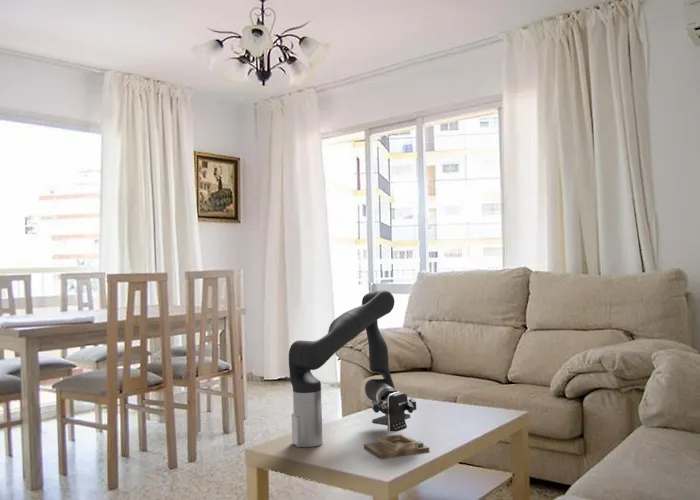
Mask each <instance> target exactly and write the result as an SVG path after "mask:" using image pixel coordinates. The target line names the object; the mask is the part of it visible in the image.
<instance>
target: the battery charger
mask: <svg viewBox="0 0 700 500" xmlns="http://www.w3.org/2000/svg"><path fill="white" fill-rule="evenodd" d="M408 401H409V399H408V395H407V394H406V393H405V392H401V391H397V392H395V393H392V394H389V395H388V396H387V400H386V402H387V408H388V415H387V422H388V425H387V431H388V432H393V433H396V432H397V433H398V432H401V431H403V430H405V429H407V426H408V425H407V423H406V419H405V414H406V413H405V412H406V411H407V410H406V409H408ZM405 410H406V411H405Z"/></svg>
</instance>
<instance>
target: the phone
mask: <svg viewBox="0 0 700 500" xmlns="http://www.w3.org/2000/svg"><path fill="white" fill-rule="evenodd" d="M409 418H411V413H405V420H407V419H409ZM371 422H372V423H373V424H379V425H386V426H388V422H387V415H385V414H384V415H383V416H380V417H377V418H374V419H372V421H371Z"/></svg>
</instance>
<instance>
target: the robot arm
mask: <svg viewBox="0 0 700 500" xmlns="http://www.w3.org/2000/svg"><path fill="white" fill-rule="evenodd" d="M361 300H362V301H361V305H359V306H357V307H354V308H352V309H349V310H348V311H346V312H344V313H342V314H341V315H339V316H338V317H336V318H335V319H333V321H332V322H331V323H330V325H329V327H328V332H327V334H325V335H324V336H323V337H321V338H319V339H317V340H313V341H312V340H296V341H294V342H293V343H292V344H291V346H290V348H289V351H288V367H289V368H288V371H289V380H290V384H291V387H292V409H293V413H291V440H292V441H291V442H292V444H293V445H294V446H295V447H296V448H311V447H312V448H313V447H318V446H321V445H322V444H323V442H324V441H323V440H324V439H323V438H324V437H323V411H322V410H323V409H322V408H323V407H322V406H323V405H322V383H321V381H320V380H319V378H317V377H316V376H314V375H313V373H312V372H311V371H315V370H318V369H320V368H322V366H323V365H325V364H326V363H327V361H329V360H330V359H331V358H332V356H334V354H336V353H337V352H338V351H340V350H341V349H342V348H343V347H344V346H345V345H347V344H348V343H350V342H351V341H353V340H354V339H355V338H356V337H358V335H360V334H361V333H362V332H363V331H365V332H366V336H367V343H368V357H369V358H368V360H369V361H368V362H369V365H368V367H369V371H370V372H371V373H375V374H379V375H381V376H382V377H383V378H372V379H369V380H367V381H366V383H365V386H364V391H365V392H364V393H365V395H366V397H367V398H368V399H369V400H370V401H371V409H372V410H373V412H374V413H379V412H380V413H382V414H384V416H385V415H388V408H387V402H386V400H387V396H388V395H389V394H392V393H395V392H398V391H397V390H396V389H395V384H394V381H393V378H392V375H391V372H390V365H389V363H390V362H389V350H388V346H387V342H386V340H385V339H384V337H383V335H382V334H381V332H380V329H379V326H378V323H379V322H378V320H379V319H381V318H383V317H384V316H386V315H388V314H390V313H391V312H392V311H393V309H394V306H395V297H394V295H393V294H392V292H390V291H389V290H384V289H382V290H381V289H380V290H377V291H373V292H368V293H365V295H364V296H363V297H362V299H361ZM416 410H417V401H416V400H415V398H413V397H410V398H409V399H408V409H406V410H405V412H406V411H407V412H408V414H412V413H413V412H414V411H416Z"/></svg>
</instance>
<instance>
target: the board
mask: <svg viewBox="0 0 700 500" xmlns="http://www.w3.org/2000/svg"><path fill="white" fill-rule="evenodd" d="M363 449H365V450H367V451H368V452H370V453H371V454H373V455H375V456H376V457H378V458H380V459H381V460H384V459H390V458H396V457H402V456H409V455H415V454H421V453H427V452H430V447H429V446H428V445H425V444H424V442H422V441H419V440H418V441H417V440H415V439H413V438H411V437H409V436H406V435H405V434H402V433H399V434H398V433H397V434H393V435H392V434H391V435H386V436H379V437H378V441H375V442H369V443H364V444H363Z"/></svg>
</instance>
